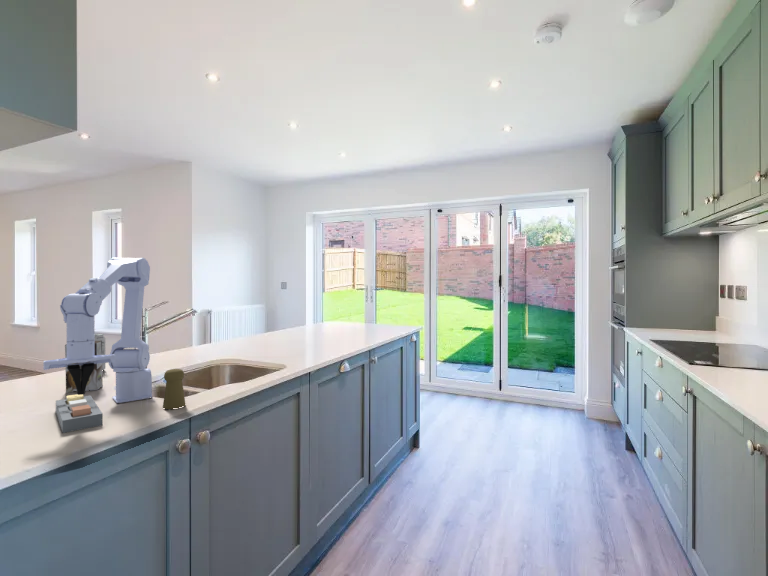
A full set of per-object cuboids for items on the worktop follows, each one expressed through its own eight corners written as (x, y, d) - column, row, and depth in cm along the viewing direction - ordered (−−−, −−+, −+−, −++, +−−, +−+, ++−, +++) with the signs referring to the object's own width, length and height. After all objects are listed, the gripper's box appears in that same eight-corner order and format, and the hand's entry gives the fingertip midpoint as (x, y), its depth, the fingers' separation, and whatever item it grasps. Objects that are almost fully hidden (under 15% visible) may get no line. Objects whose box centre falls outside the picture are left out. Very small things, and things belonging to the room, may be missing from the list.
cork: (180, 402, 122) (180, 366, 122) (189, 406, 119) (189, 369, 118) (158, 407, 118) (158, 369, 118) (167, 411, 114) (167, 372, 114)
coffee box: (103, 385, 141) (103, 340, 141) (97, 390, 135) (97, 342, 135) (72, 388, 138) (71, 341, 138) (64, 392, 132) (64, 343, 132)
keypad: (90, 405, 119) (90, 395, 119) (102, 425, 103) (102, 413, 103) (55, 411, 113) (55, 400, 113) (62, 432, 97) (62, 420, 97)
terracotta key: (88, 416, 105) (88, 404, 105) (90, 419, 103) (90, 407, 103) (71, 419, 103) (71, 407, 103) (73, 422, 100) (72, 410, 100)
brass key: (82, 403, 116) (82, 393, 116) (83, 406, 113) (83, 396, 113) (66, 406, 113) (66, 395, 113) (67, 409, 111) (67, 398, 111)
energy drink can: (106, 369, 168) (106, 333, 168) (104, 372, 163) (104, 335, 162) (88, 370, 165) (88, 334, 165) (86, 373, 160) (86, 336, 159)
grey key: (85, 409, 111) (85, 398, 111) (87, 412, 108) (87, 401, 108) (68, 412, 108) (68, 401, 108) (70, 415, 106) (70, 404, 105)
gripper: (44, 345, 95) (44, 402, 95) (117, 339, 105) (117, 391, 105) (42, 341, 100) (43, 396, 100) (112, 337, 110) (112, 386, 110)
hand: (80, 393), depth 103 cm, fingers closed
